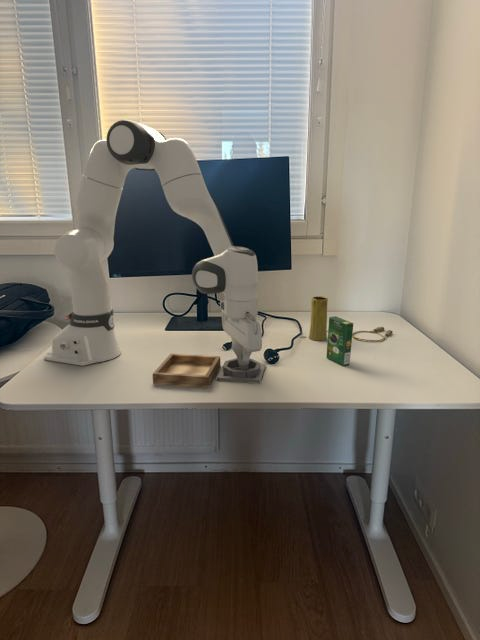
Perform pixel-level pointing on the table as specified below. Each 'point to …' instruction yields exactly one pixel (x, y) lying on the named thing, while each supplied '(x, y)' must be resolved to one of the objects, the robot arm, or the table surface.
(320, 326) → the vase
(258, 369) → the socket
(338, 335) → the coffee box
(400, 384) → the table surface
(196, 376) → the tray
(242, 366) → the lightbulb
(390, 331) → the extension cord
